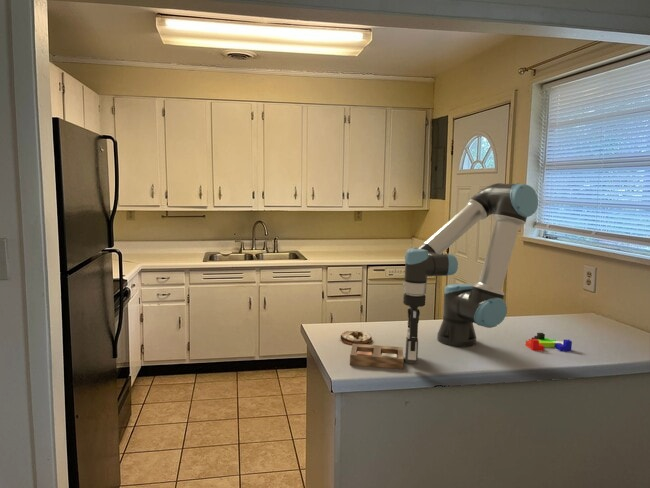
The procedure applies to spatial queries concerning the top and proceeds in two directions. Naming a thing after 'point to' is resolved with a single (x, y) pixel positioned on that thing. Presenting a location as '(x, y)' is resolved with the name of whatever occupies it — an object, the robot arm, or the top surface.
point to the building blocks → (547, 343)
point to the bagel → (356, 337)
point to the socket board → (377, 356)
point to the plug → (407, 351)
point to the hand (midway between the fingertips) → (411, 352)
